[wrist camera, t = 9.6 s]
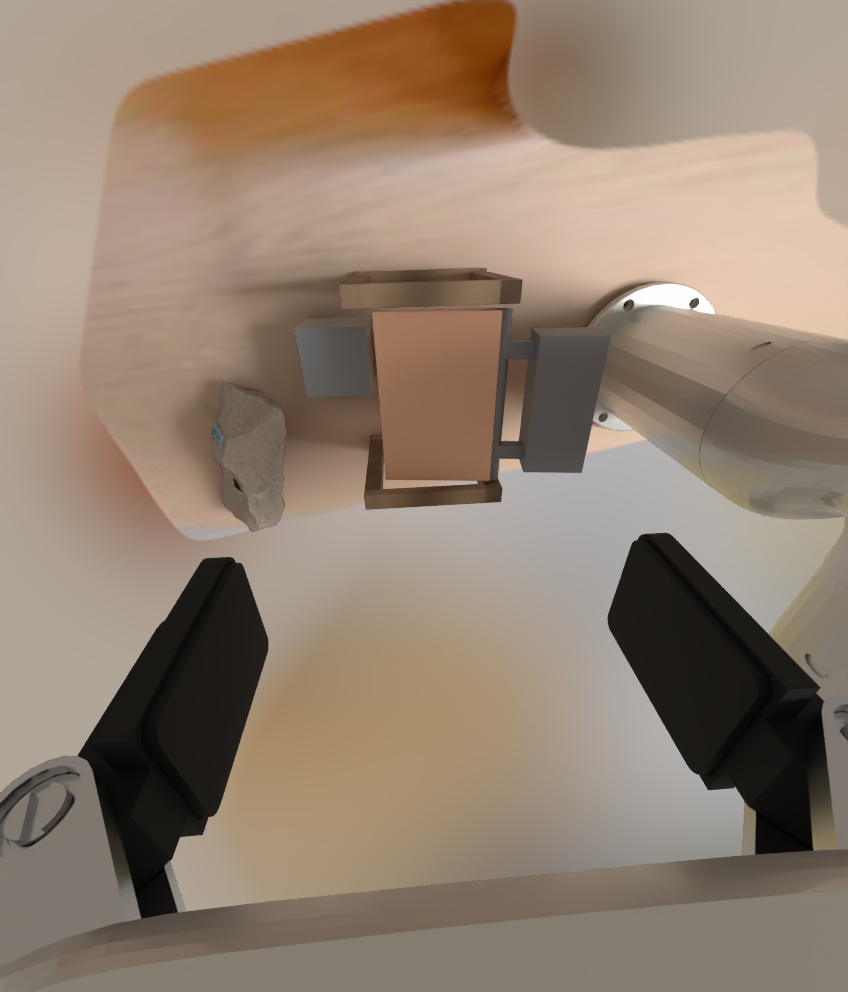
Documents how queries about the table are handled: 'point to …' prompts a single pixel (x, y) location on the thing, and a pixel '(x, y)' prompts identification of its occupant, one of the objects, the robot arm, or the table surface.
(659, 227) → the table surface
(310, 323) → the slate block
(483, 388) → the trapdoor
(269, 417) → the concrete fragment
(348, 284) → the frame
